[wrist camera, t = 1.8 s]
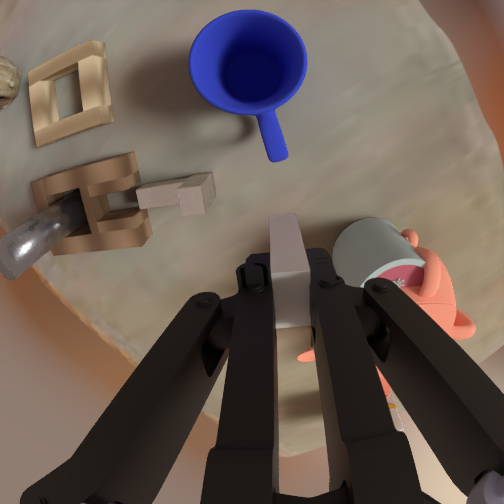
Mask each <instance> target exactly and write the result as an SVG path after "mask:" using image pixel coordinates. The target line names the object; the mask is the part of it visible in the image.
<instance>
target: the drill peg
mask: <svg viewBox="0 0 504 504" xmlns="http://www.w3.org/2000/svg"><path fill="white" fill-rule="evenodd" d="M87 220H88V219H87V216H86V212H85V208H84V205H83V201H82V197H81V193H80V190H78V191H76V192H74V193H72V194H70V195H69V196H67V197H65V198H63V199H62V200H60V201H58V202H56V203H55V204H53V205H51V206H49V207H48V208H46V209H44V210H43V211H41V212H40V213H38V214H36V215H35V216H33V217H31V218H30V219H28V220H27V221H25V222H24V223H22V224H21V225H19V226H17V227H16V228H14V229H13V230H11V231H10V232H9V233H7V234H6V235H4V236H3V237H1V238H0V272H1V274H2V275H3V276H4V277H6V278H7V279H9V280H16V279H17V278H18V277H19V276H20V275H21V274H22V273H23V272H25V271H26V270H27V269H28V268H29V267H30V266H31V265H33V264H34V263H35V262H36V261H37V260H38V259H40V258H41V257H42V256H43V255H44V254H45V253H47V252H48V251H49V250H50V249H51V248H53V247H54V246H55V245H56V244H58V243H59V242H60V241H61V240H63V239H64V238H65V237H66V236H68V235H69V234H70V233H71V232H73V231H74V230H75V229H77V228H78V227H79V226H81V225H82V224H83V223H85V222H86V221H87Z"/></svg>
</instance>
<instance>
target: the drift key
mask: <svg viewBox="0 0 504 504" xmlns="http://www.w3.org/2000/svg"><path fill="white" fill-rule="evenodd" d="M136 194H137V198H138V203H139V207H140V209H147V208H153V207H161V206H168V205H176V204H180V210H181V215H182V216H191V215H200V214H205V213H206V212H207V210H208V208H209V206H210V205H211V203H212V201H213V199H214V198H215V196H216V194H215V187H214V181H213V174H212V172H210V173H202V174H195V175H192V176H190V177H187V178H180V179H173V180H167V181H161V182H155V183H149V184H144V185H142V186H141V187H139V188H138V189H136Z"/></svg>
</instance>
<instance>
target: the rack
mask: <svg viewBox="0 0 504 504" xmlns="http://www.w3.org/2000/svg"><path fill="white" fill-rule="evenodd" d="M76 70H79V79H80V89H81V98H82V105H83V112H80V113H77V114H75V115H72V116H70V117H67V118H65V119H62V120H60V121H59V116H58V108H57V100H56V91H55V80H57V79H59V78H61V77H63V76H65V75H68V74H70V73H72V72H74V71H76ZM28 80H29V93H30V103H31V112H32V120H33V127H34V134H35V140H36V146H37V147H40V146H44V145H47V144H51V143H53V142H56V141H59V140H61V139H64V138H66V137H69V136H72V135H75V134H78V133H80V132H83V131H86V130H89V129H92V128H95V127H99V126H102V125H105V124H108V123H112V122H114V119H113V112H112V105H111V98H110V90H109V81H108V71H107V61H106V48H105V43H102V42H99V41H96V40H89V41H87V42H85V43H83V44H81V45H78V46H76V47H74V48H72V49H70V50H68V51H66V52H64V53H62V54H60V55H58V56H56V57H54V58H53V59H51V60H49V61H47V62H45V63H43V64H42V65H40V66H38V67H37V68H35V69H33V70H31V71H30V72H28Z"/></svg>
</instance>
